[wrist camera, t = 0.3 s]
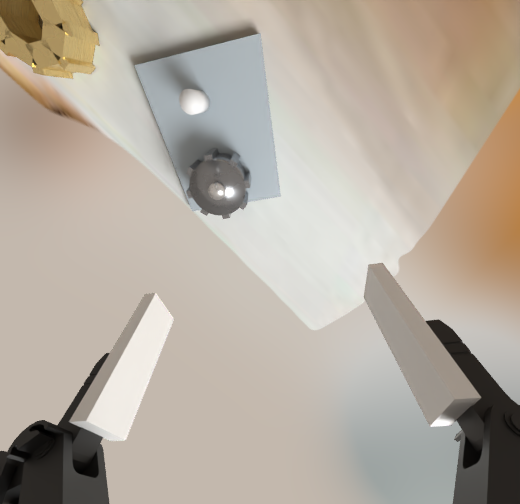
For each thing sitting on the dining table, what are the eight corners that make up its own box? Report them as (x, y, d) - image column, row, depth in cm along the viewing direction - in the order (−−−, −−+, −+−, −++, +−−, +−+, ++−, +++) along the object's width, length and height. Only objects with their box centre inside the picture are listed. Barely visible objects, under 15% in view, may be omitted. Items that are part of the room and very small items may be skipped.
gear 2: (184, 154, 32) (171, 163, 27) (244, 142, 31) (241, 149, 26) (204, 210, 38) (196, 225, 33) (256, 201, 37) (255, 216, 32)
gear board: (139, 66, 27) (108, 58, 22) (260, 36, 26) (260, 18, 20) (194, 207, 39) (182, 226, 33) (280, 193, 37) (283, 209, 32)
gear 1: (-8, -20, 23) (-65, -45, 19) (64, -43, 22) (20, -75, 18) (53, 84, 29) (18, 81, 24) (113, 68, 28) (88, 63, 23)
